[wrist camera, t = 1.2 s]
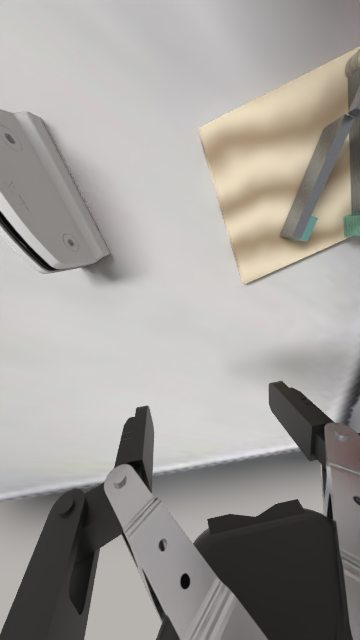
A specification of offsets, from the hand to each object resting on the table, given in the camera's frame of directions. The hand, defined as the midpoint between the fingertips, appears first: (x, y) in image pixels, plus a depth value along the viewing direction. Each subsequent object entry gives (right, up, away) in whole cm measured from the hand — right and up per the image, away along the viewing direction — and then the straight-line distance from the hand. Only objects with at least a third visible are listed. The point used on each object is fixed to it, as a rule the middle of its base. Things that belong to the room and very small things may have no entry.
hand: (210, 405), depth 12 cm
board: (+15, +25, +15) cm, 33 cm away
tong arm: (+16, +26, +14) cm, 33 cm away
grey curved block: (-19, +21, +13) cm, 31 cm away
